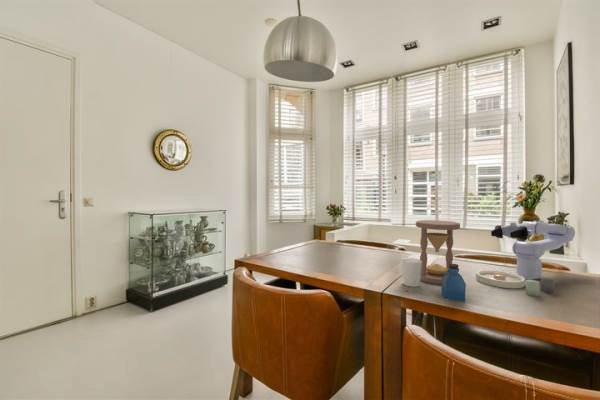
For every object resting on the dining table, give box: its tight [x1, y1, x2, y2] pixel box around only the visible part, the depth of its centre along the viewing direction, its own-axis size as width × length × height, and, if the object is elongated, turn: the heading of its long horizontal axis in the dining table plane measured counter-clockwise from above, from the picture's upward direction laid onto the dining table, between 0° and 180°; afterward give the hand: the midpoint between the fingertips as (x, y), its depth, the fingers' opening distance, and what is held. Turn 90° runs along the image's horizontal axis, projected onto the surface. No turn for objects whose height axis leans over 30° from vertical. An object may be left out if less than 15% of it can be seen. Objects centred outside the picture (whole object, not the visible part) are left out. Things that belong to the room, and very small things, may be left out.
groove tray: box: [475, 269, 526, 289], centre depth 125 cm, size 17×17×2 cm
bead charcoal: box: [539, 276, 555, 294], centre depth 113 cm, size 4×4×5 cm
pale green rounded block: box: [525, 279, 541, 297], centre depth 110 cm, size 4×4×5 cm
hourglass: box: [415, 219, 461, 286], centre depth 129 cm, size 18×18×25 cm
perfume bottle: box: [441, 263, 467, 302], centre depth 107 cm, size 6×6×12 cm
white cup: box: [401, 257, 422, 288], centre depth 121 cm, size 8×8×10 cm
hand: (501, 234), depth 122 cm, fingers open, 7 cm apart
